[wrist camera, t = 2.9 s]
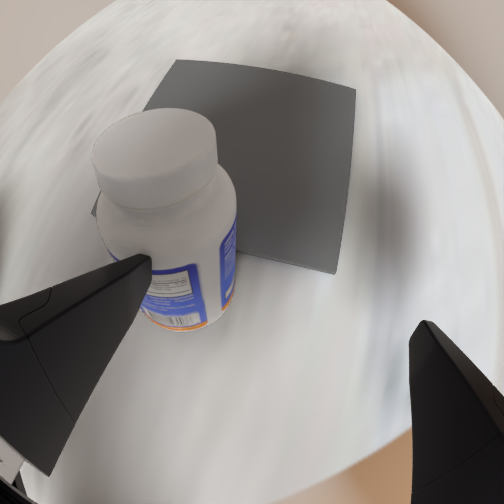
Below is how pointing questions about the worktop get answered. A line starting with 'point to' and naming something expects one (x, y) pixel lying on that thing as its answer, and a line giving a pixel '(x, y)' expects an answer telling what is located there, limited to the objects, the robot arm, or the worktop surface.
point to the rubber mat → (274, 154)
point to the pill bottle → (170, 212)
